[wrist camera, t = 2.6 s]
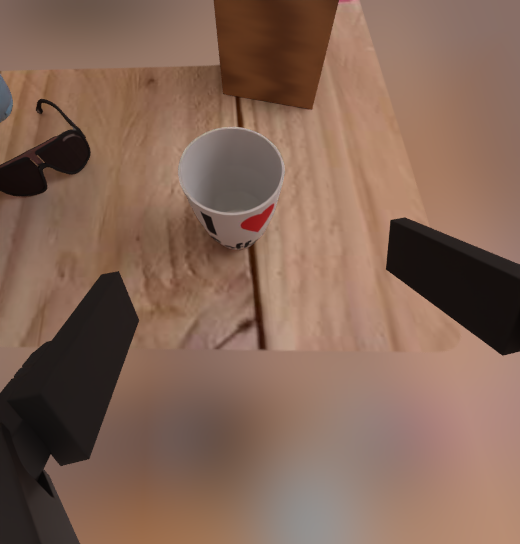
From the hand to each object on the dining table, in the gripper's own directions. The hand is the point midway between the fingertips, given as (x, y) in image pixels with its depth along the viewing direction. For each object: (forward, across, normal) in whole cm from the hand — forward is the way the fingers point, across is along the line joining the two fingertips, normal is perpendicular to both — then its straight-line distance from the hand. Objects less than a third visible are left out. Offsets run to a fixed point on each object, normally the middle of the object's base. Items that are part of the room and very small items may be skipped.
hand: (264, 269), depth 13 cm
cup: (+18, 0, -4) cm, 18 cm away
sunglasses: (+28, -21, +7) cm, 36 cm away
